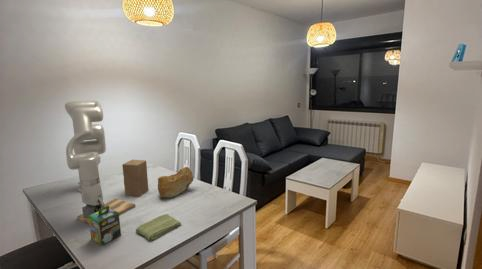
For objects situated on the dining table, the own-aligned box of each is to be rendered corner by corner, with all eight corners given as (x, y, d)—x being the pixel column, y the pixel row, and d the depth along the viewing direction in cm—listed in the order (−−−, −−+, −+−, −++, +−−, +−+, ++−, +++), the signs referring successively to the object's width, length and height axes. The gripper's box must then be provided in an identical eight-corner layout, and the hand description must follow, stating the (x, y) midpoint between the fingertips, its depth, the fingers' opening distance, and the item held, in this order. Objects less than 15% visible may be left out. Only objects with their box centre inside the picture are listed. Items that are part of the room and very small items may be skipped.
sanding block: (83, 218, 124) (82, 207, 122) (98, 211, 131) (97, 200, 129) (90, 221, 121) (88, 209, 120) (105, 213, 129) (104, 202, 127)
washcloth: (182, 225, 121) (182, 219, 121) (150, 243, 108) (149, 236, 107) (166, 217, 129) (165, 211, 129) (134, 232, 116) (133, 226, 115)
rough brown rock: (183, 184, 173) (180, 163, 170) (197, 189, 161) (194, 166, 159) (151, 195, 156) (147, 172, 154) (164, 202, 145) (160, 177, 142)
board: (77, 219, 126) (77, 216, 126) (115, 201, 146) (115, 198, 145) (98, 226, 120) (98, 223, 119) (135, 206, 139) (135, 204, 139)
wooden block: (139, 196, 152) (136, 165, 148) (125, 195, 154) (121, 164, 150) (148, 190, 161) (146, 160, 157) (134, 188, 163) (132, 159, 159)
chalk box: (110, 229, 118) (107, 200, 115) (122, 235, 113) (118, 205, 110) (90, 239, 110) (86, 208, 107) (101, 246, 105) (97, 214, 102)
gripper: (72, 181, 123) (77, 214, 126) (94, 187, 116) (99, 222, 119) (87, 176, 130) (91, 208, 133) (109, 181, 122) (113, 215, 126)
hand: (95, 214), depth 126 cm, fingers closed on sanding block, 5 cm apart
